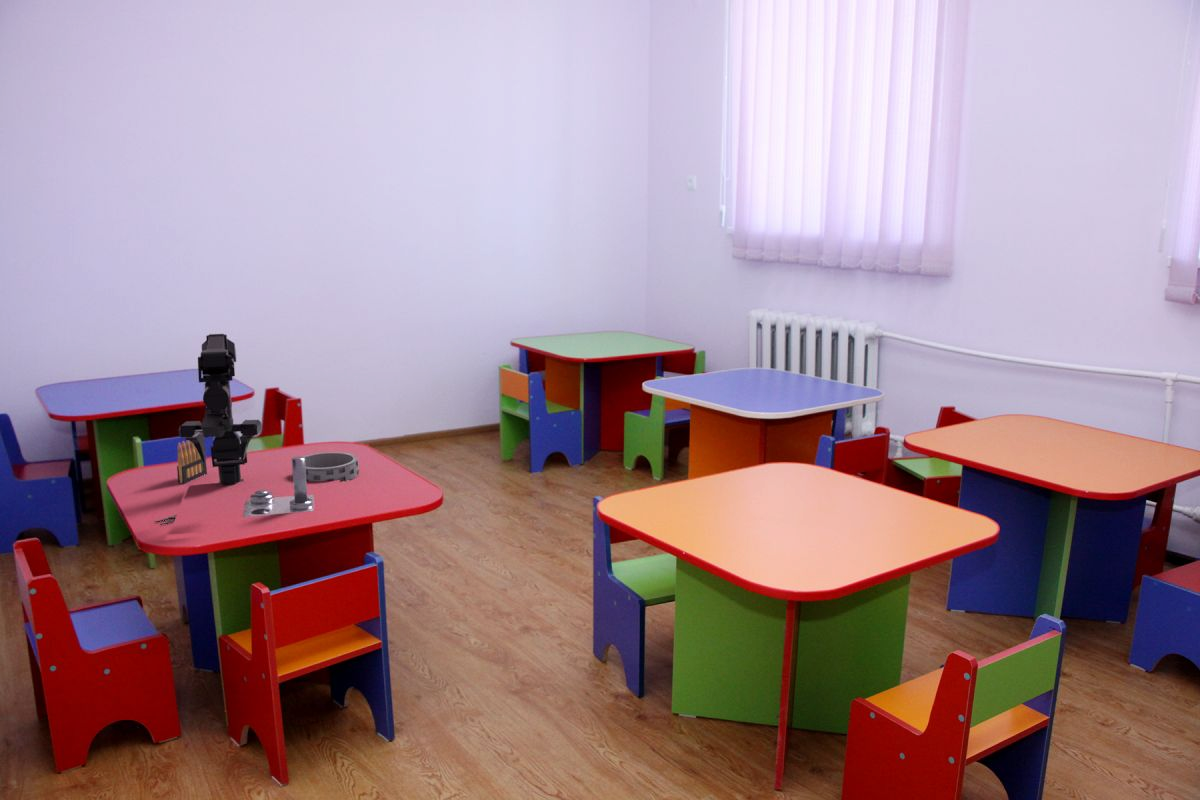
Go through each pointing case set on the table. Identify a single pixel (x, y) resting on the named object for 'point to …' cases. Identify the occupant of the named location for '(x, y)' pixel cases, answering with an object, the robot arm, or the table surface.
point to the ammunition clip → (189, 463)
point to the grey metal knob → (261, 497)
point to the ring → (331, 466)
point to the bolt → (300, 485)
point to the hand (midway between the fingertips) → (223, 461)
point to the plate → (273, 507)
